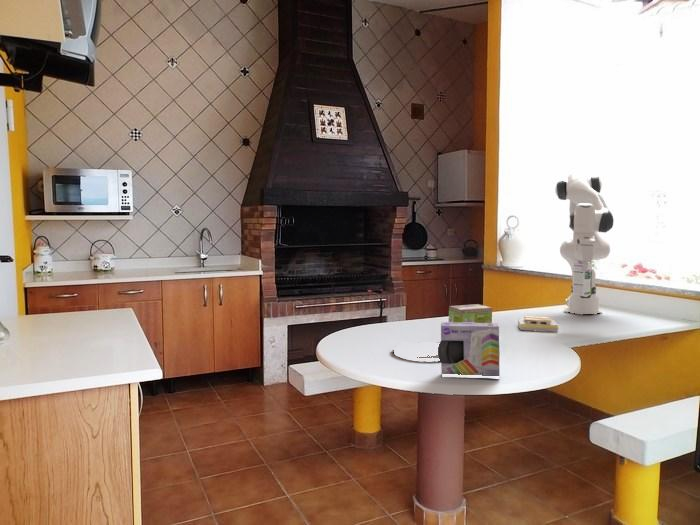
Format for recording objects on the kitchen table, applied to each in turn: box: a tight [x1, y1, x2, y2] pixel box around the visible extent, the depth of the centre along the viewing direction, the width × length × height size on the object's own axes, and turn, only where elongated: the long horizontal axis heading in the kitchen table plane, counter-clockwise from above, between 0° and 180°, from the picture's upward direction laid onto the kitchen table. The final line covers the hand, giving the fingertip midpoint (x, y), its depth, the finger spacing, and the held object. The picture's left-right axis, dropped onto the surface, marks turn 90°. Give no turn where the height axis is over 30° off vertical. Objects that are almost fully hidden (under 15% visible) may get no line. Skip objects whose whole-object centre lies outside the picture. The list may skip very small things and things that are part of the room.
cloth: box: [523, 315, 553, 324], centre depth 243 cm, size 9×11×2 cm
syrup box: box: [572, 262, 593, 296], centre depth 239 cm, size 6×6×14 cm
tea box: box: [448, 303, 493, 323], centre depth 219 cm, size 15×10×15 cm
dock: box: [517, 318, 559, 333], centre depth 243 cm, size 12×16×3 cm
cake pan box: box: [438, 321, 501, 377], centre depth 170 cm, size 19×5×18 cm, turn 78°
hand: (582, 270), depth 239 cm, fingers closed on syrup box, 8 cm apart
